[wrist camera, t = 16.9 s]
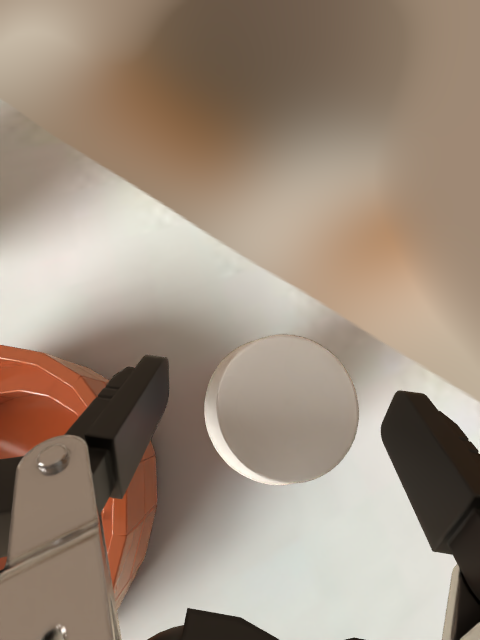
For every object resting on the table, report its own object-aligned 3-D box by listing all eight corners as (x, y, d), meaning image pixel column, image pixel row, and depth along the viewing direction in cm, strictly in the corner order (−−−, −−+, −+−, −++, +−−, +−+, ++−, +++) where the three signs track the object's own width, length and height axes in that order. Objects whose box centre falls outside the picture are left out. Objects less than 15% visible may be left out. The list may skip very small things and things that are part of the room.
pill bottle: (198, 426, 16) (150, 437, 7) (244, 349, 17) (248, 284, 9) (281, 480, 15) (336, 562, 6) (321, 393, 16) (409, 367, 8)
